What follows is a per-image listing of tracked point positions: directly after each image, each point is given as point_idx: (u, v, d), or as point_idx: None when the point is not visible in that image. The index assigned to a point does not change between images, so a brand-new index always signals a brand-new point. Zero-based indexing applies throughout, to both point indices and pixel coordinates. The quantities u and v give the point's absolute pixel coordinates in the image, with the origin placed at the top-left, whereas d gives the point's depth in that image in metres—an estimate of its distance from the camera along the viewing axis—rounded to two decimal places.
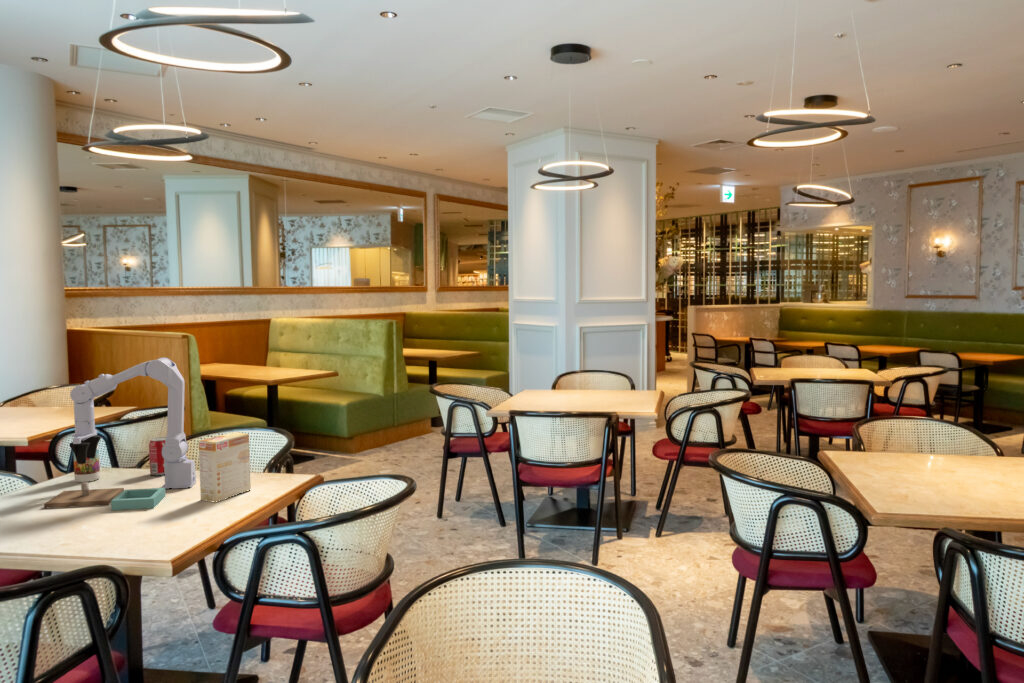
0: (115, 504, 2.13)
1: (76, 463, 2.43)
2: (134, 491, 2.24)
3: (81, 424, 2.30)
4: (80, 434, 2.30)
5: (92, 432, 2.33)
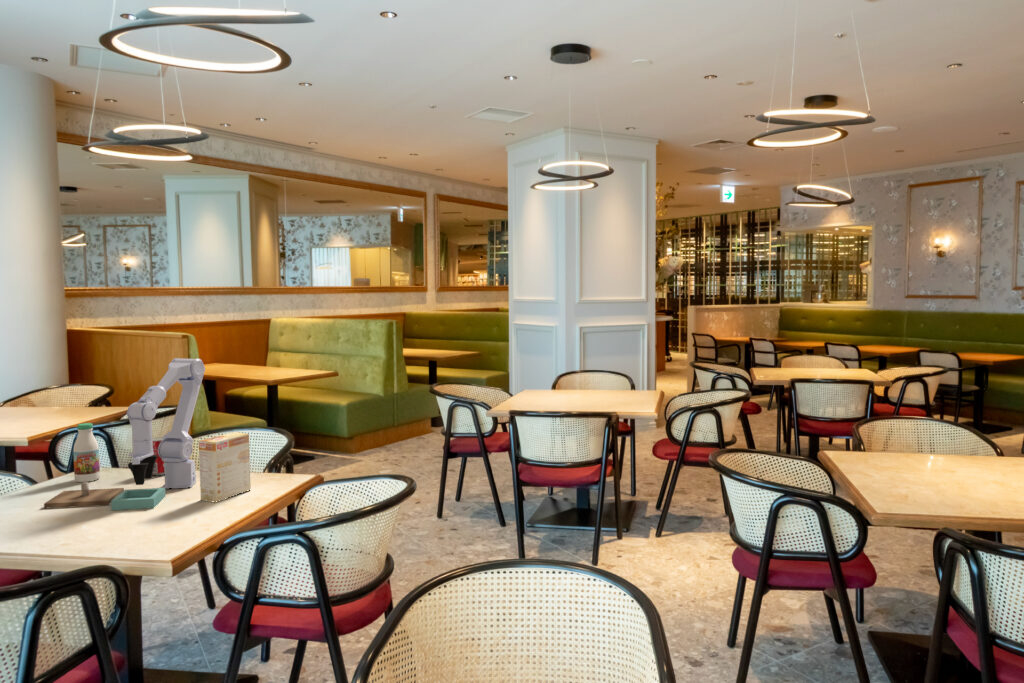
0: (115, 504, 2.13)
1: (76, 463, 2.43)
2: (134, 491, 2.24)
3: (139, 443, 2.21)
4: (138, 454, 2.21)
5: (150, 452, 2.24)
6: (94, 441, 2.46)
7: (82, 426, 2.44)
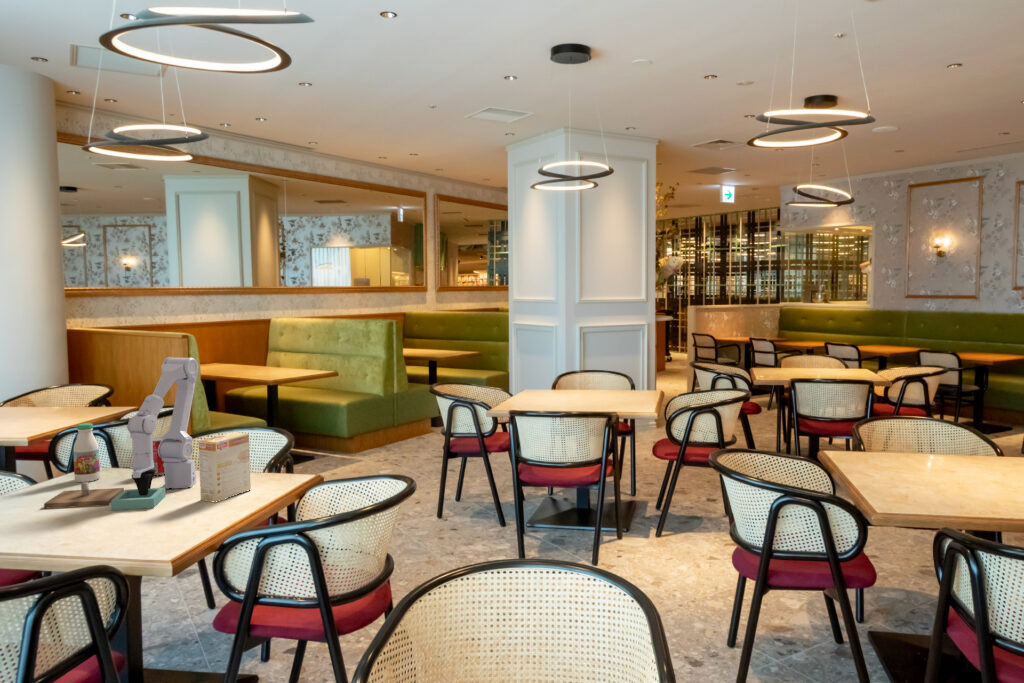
0: (115, 504, 2.13)
1: (76, 463, 2.43)
2: (134, 491, 2.24)
3: (140, 456, 2.22)
4: (139, 467, 2.22)
5: (151, 465, 2.24)
6: (94, 441, 2.46)
7: (82, 426, 2.44)
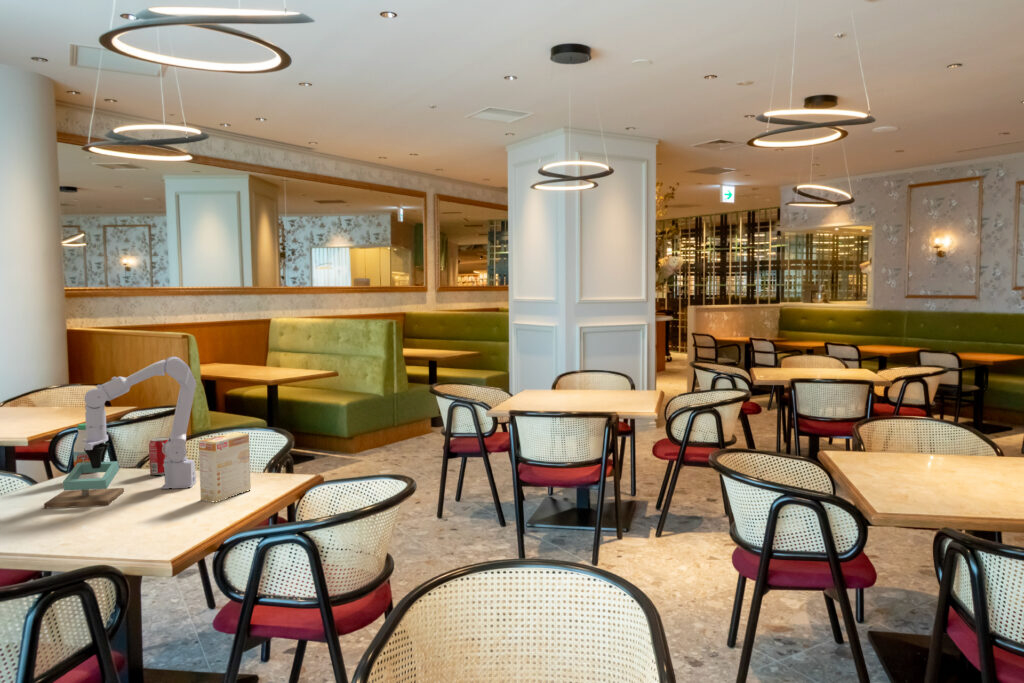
0: (67, 485, 2.16)
1: (76, 463, 2.43)
2: (87, 465, 2.26)
3: (92, 429, 2.24)
4: (91, 440, 2.24)
5: (104, 438, 2.26)
6: None
7: (82, 426, 2.44)
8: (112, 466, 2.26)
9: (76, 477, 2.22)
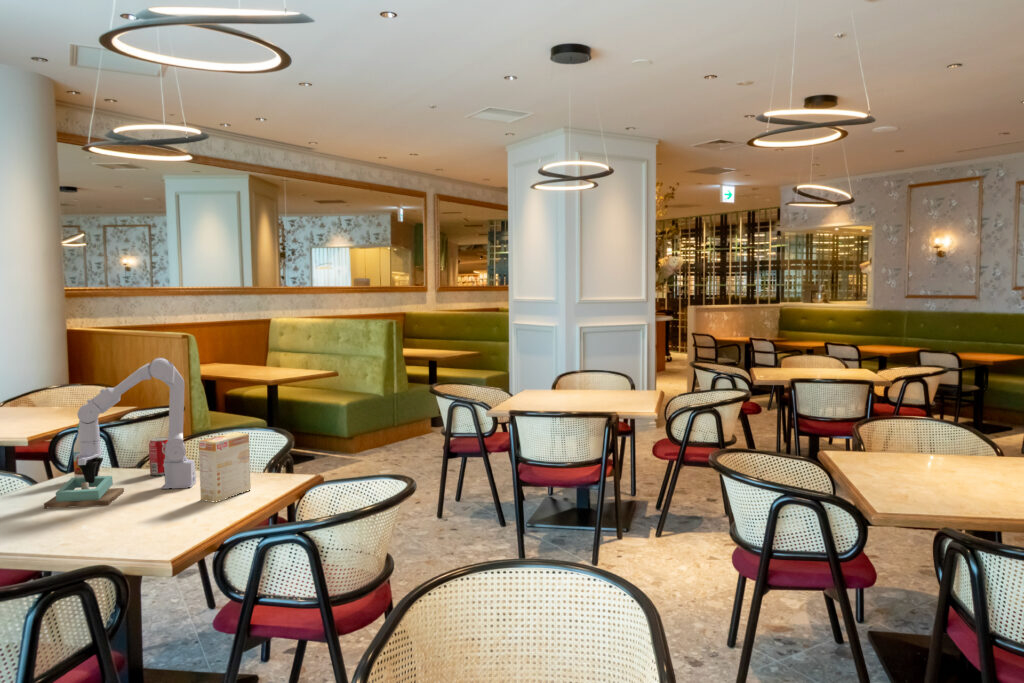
0: (60, 496, 2.17)
1: (76, 463, 2.43)
2: (81, 479, 2.27)
3: (86, 444, 2.25)
4: (85, 455, 2.25)
5: (97, 452, 2.27)
6: None
7: None
8: (106, 479, 2.27)
9: None
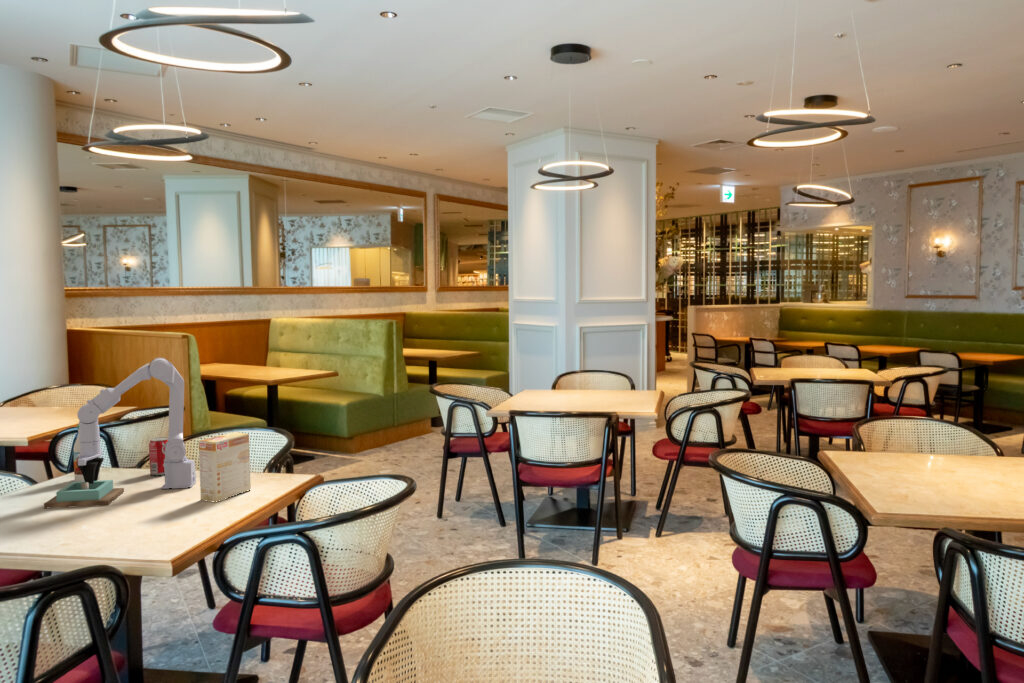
0: (60, 496, 2.17)
1: (76, 463, 2.43)
2: None
3: (86, 444, 2.25)
4: (85, 455, 2.25)
5: (97, 453, 2.27)
6: None
7: None
8: (106, 482, 2.27)
9: None
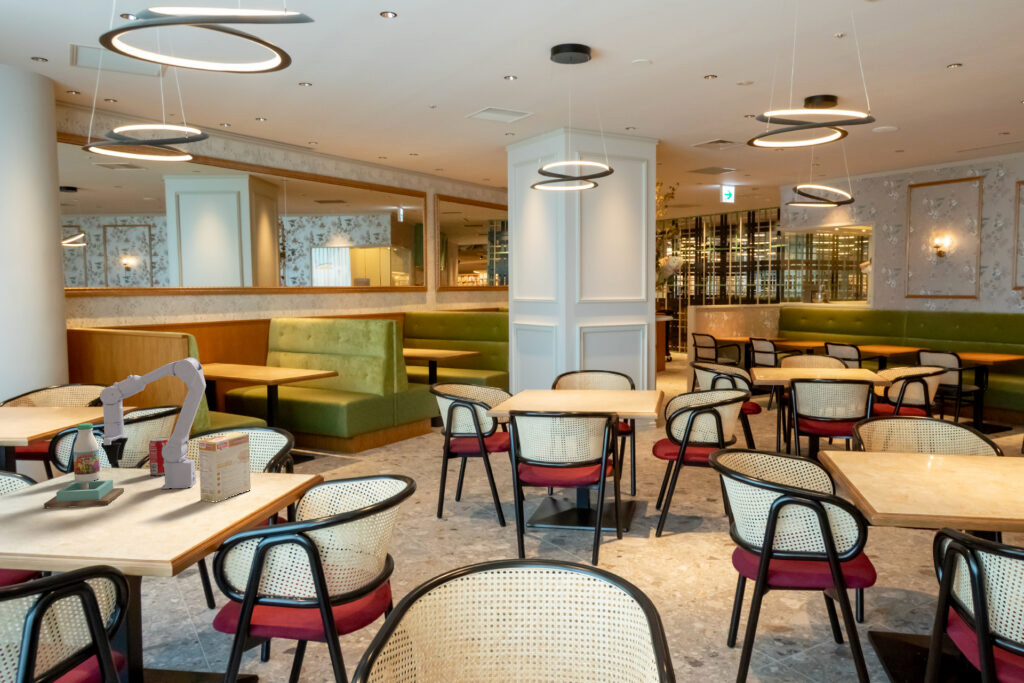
0: (60, 496, 2.17)
1: (76, 463, 2.43)
2: None
3: (111, 425, 2.32)
4: (110, 435, 2.32)
5: (121, 433, 2.35)
6: (94, 441, 2.46)
7: (82, 426, 2.44)
8: (106, 482, 2.27)
9: None
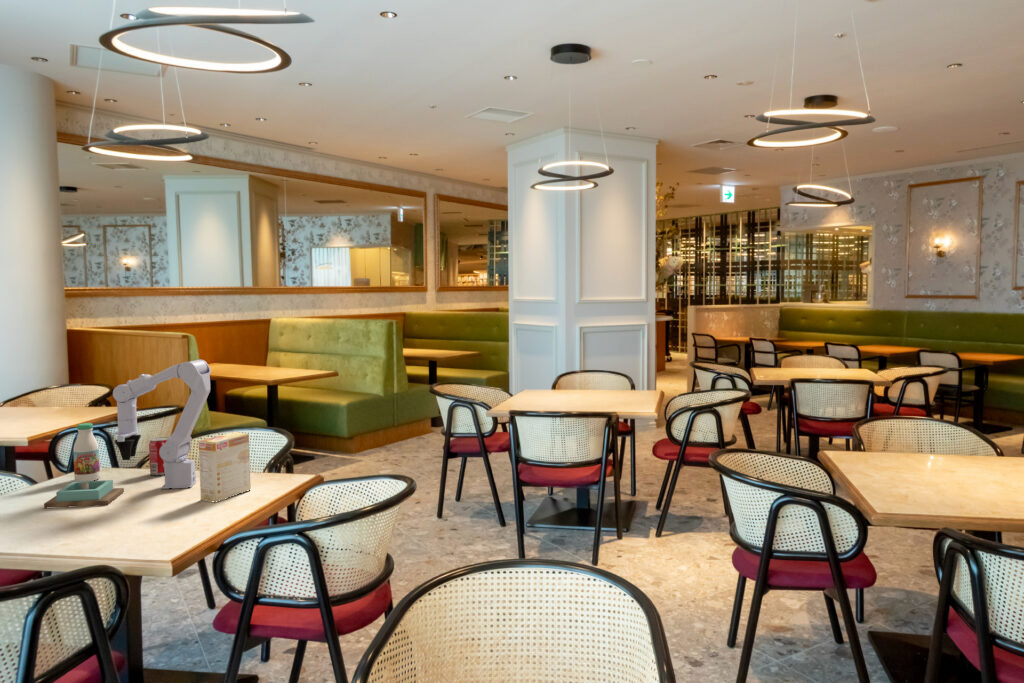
0: (60, 496, 2.17)
1: (76, 463, 2.43)
2: None
3: (124, 422, 2.36)
4: (123, 432, 2.37)
5: (135, 430, 2.39)
6: (94, 441, 2.46)
7: (82, 426, 2.44)
8: (106, 482, 2.27)
9: None
